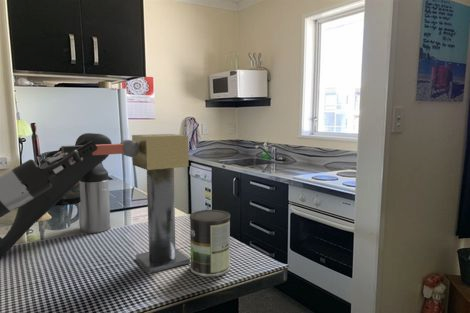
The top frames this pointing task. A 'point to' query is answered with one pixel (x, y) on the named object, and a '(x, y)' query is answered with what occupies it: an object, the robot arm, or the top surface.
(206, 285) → the top surface
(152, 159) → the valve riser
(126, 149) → the lever
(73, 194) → the beer stein
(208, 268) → the coffee can
